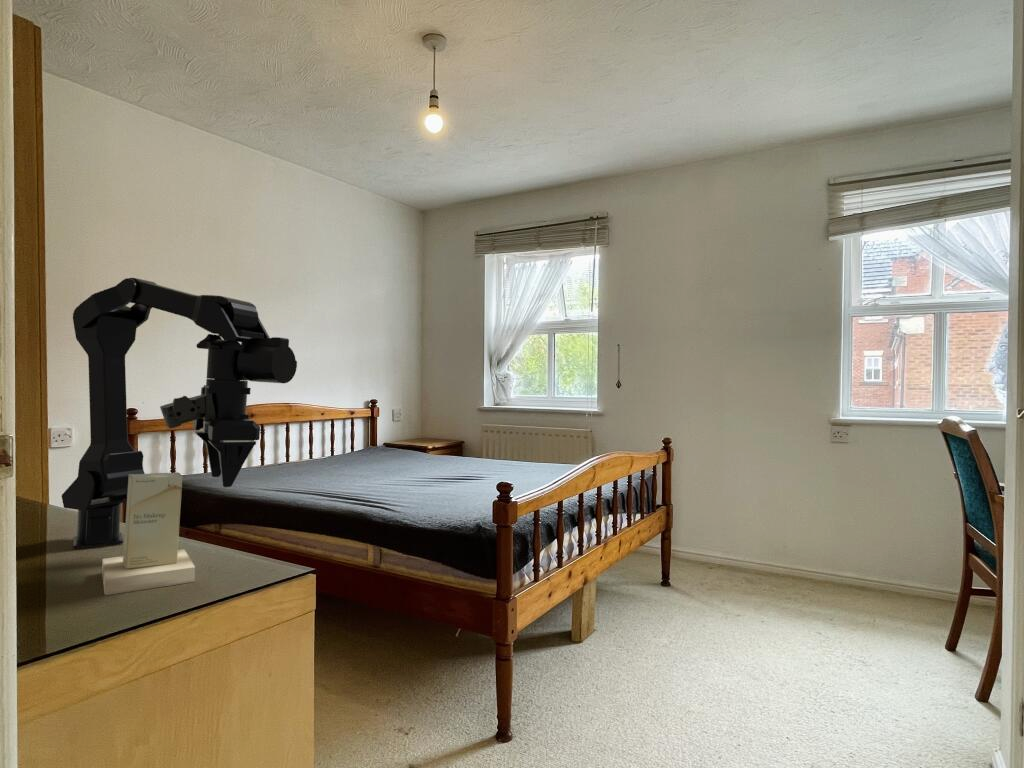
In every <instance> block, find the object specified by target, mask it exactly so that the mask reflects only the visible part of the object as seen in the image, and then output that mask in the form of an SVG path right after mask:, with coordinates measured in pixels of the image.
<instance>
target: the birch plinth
mask: <svg viewBox="0 0 1024 768" xmlns="http://www.w3.org/2000/svg"><path fill="white" fill-rule="evenodd" d="M101 564H102V565H101V566H102V567H101V568H102V569H101V578H102V584H103V591H104V596H108V595H109V596H111V595H116V594H121V593H122V594H124V593H130V592H136V591H144V590H149V589H150V590H151V589H156V588H161V587H163V588H164V587H168V586H169V587H170V586H175V585H183V584H189V583H195V581H196V580H195V579H196V578H195V577H196V566H195V564H194V563H193V561H192V559H191V558H190V556H189V555H188V553H187V551H186V550H185V548H183V549H178V556H177V563H173V564H165V565H156V566H147V567H138V568H129V569H127V568H125V566H124V563H123V555H122V556H115V557H106V558H102V563H101Z"/></svg>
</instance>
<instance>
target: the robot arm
mask: <svg viewBox="0 0 1024 768" xmlns="http://www.w3.org/2000/svg"><path fill="white" fill-rule="evenodd" d="M130 303H131V304H133V305H131V306H130V307H129V306H128V304H130ZM151 309H156V310H160V311H163V312H165V313H170V314H172V315H173V314H174V315H176V316H181V317H183V318H186V319H189V320H191V321H192V322H193V323H194V324H195V325H196V326H198V327H199V328H201V329H203V330H204V331H207V332H209V333H208V334H207V335H206V337H205V338H203V339H202V340H200V341H199V342H198V343H197V344H196V348H197V349H199V350H200V349H202V350H208V351H207V363H206V366H207V367H206V381H205V385H203V386H202V387H201V388H200V395H199V394H198V395H196V396H191V397H188V396H186V395H183V396H180V397H178V398H177V397H174V398H173V401H172V402H170V403H167V404H163V405H160V406H159V408H160V411H161V414H162V416H163V419H164V422H165V424H166V427H167V428H168V429H174V428H178V427H181V426H182V425H184V424H186V423H190V422H192V429H193V430H195V431H194V434H195V435H196V436H198V437H199V438H200V439H201V440H202V441H203V442H204V444H205V447H206V448H205V449H206V452H207V457H208V458H207V459H208V462H209V463H208V464H209V469H210V473H211V477H213V478H219V477H220V476H221V482H222V487H224V488H231V487H232V486H233V485H234V483H235V481H236V478H238V477H237V476H238V475H239V473H240V471H241V470H242V467H243V466H244V464H245V462H246V460H247V459H248V457H249V455H250V454H251V451H252V450H253V448H254V447H255V446H256V445H257V441H259V440H260V436H261V435H260V433H261V426H260V425H259V424H258V423H256V421H254V420H252V419H251V418H249V417H250V414H249V413H247V400H248V399H247V398H248V395H251V387H248V383H249V382H257V383H273V384H287V383H289V382H290V381H292V380H293V378H294V377H295V375H296V372H297V368H298V361H297V360H296V359H297V358H296V355H295V352H294V351H293V349H292V348H290V346H289V345H290V340H289V338H284V337H281V336H280V337H276V336H274V337H273V336H272V337H270V335H269V333H268V332H267V330H266V328H265V327H264V324H263V323H262V321H261V319H260V317H259V313H258V310H257V307H256V305H255V304H254V303H251V302H249V301H245V300H240V299H236V298H232V297H227V296H222V295H214V294H213V295H212V294H201V295H199V294H198V295H196V294H192V293H188V292H184V291H181V290H178V289H174V288H170V287H167V286H163V285H159V284H157V283H156V282H154V281H149V280H147V279H141V278H136V277H129V278H128V277H126V278H124V279H123V280H121V281H119V283H117V284H116V285H114V286H112V287H108V288H106V289H103V290H101V291H97V292H95V293H93V294H90V296H89V297H88V298H86V299H85V300H84V301H82V302H80V304H78V305H77V306H76V307H75V308H74V310H73V313H72V322H73V328H74V334H75V339H76V341H77V342H78V344H79V345H80V347H82V350H83V351H84V352H85V353H86V355H87V358H88V362H87V363H88V390H89V392H88V393H89V395H88V396H89V422H90V423H89V429H90V433H89V435H90V443H89V446H88V448H87V449H86V450H85V452H84V454H83V455H82V457H81V459H79V463H78V471H77V477H76V478H75V480H73V482H71V484H70V485H69V486H68V488H67V489H65V491H64V492H63V493H62V494H61V500H62V505H63V508H64V509H67V510H68V509H71V510H77V525H76V535H75V536H74V537H73V539H72V540H73V541H72V542H73V545H72V548H73V549H82V548H83V549H84V548H90V547H91V548H92V547H102V546H112V545H119V544H124V537H123V535H122V532H120V529H121V527H120V526H121V507H122V504H124V503H127V493H128V479H129V474H146V473H145V471H144V465H143V463H144V453H143V451H142V450H134V447H133V446H132V445H131V443H130V442H129V439H128V415H127V413H128V410H127V409H128V408H127V377H126V375H127V374H126V355H127V353H128V352H129V351H130V349H131V348H132V346H133V345H134V344H135V341H136V335H137V329H138V328H139V327H140V326H142V325H143V324H144V323H145V322H147V321H148V320H149V316H150V313H151Z"/></svg>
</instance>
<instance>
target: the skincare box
mask: <svg viewBox="0 0 1024 768" xmlns="http://www.w3.org/2000/svg"><path fill="white" fill-rule="evenodd" d="M183 477H184V476H183V475H182V474H181V473H179V472H177V471H176V472H160V473H159V472H156V473H155V472H153V473H145V474H129V479H128V493H127V502H126V510H125V527H124V537H123V551H122V552H123V554H122V556H123V563H124V566H125V568H127V569H129V568H138V567H147V566H156V565H165V564H173V563H177V556H178V550H179V540H180V539H179V538H180V537H179V536H180V523H181V522H180V521H181V520H180V519H181V506H182V505H181V504H182V491H183V489H182V488H183Z"/></svg>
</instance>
